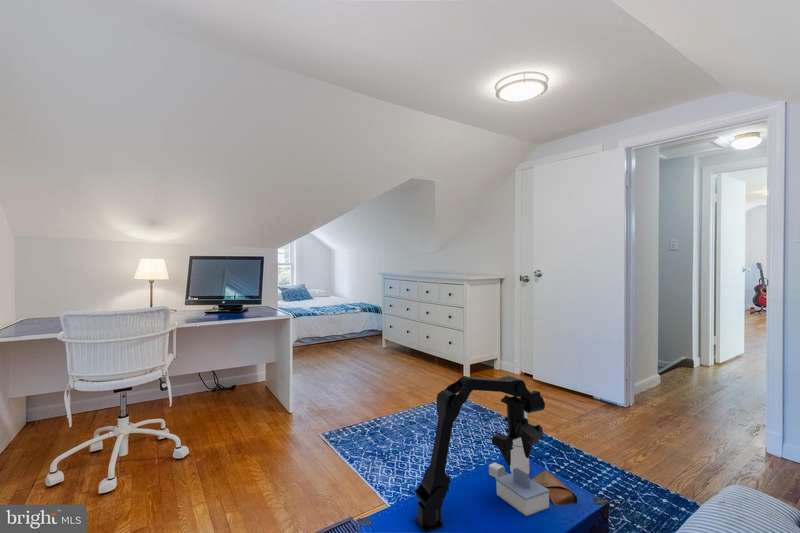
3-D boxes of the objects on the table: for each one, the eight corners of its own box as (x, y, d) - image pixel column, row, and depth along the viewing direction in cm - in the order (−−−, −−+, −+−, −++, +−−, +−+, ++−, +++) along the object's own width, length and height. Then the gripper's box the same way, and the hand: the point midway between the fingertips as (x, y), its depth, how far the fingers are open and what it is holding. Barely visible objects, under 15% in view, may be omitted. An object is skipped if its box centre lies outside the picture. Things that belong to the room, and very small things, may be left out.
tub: (526, 516, 120) (525, 499, 120) (496, 494, 133) (496, 480, 133) (549, 507, 124) (548, 491, 125) (518, 487, 137) (518, 473, 137)
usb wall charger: (495, 472, 149) (495, 461, 149) (510, 479, 143) (510, 468, 143) (489, 475, 146) (488, 464, 146) (503, 482, 141) (503, 471, 141)
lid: (525, 504, 120) (525, 485, 120) (495, 483, 133) (495, 466, 133) (549, 495, 124) (549, 477, 125) (518, 476, 137) (517, 460, 138)
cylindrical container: (527, 467, 152) (524, 403, 153) (531, 476, 145) (528, 409, 146) (508, 466, 153) (506, 403, 154) (512, 475, 146) (509, 409, 147)
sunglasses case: (527, 479, 143) (534, 462, 144) (542, 487, 144) (549, 470, 144) (555, 506, 125) (563, 487, 126) (572, 515, 126) (580, 496, 127)
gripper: (515, 428, 118) (518, 479, 118) (553, 415, 128) (556, 462, 128) (489, 418, 128) (491, 465, 127) (526, 407, 138) (528, 451, 137)
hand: (518, 461), depth 130 cm, fingers open, 9 cm apart
